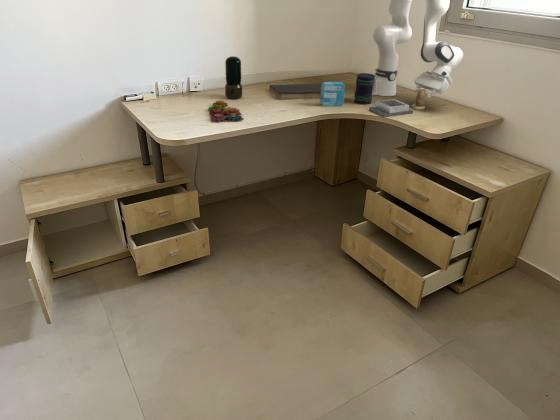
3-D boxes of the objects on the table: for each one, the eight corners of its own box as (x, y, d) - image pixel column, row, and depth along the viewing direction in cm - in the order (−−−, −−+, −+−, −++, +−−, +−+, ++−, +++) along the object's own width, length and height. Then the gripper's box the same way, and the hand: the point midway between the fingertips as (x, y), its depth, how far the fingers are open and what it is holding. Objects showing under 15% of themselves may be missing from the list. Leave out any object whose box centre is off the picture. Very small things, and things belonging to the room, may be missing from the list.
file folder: (280, 93, 237) (269, 83, 257) (280, 101, 239) (269, 90, 259) (335, 91, 245) (321, 82, 265) (335, 98, 247) (320, 88, 267)
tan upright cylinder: (409, 107, 236) (412, 88, 231) (418, 105, 239) (422, 87, 234) (417, 110, 230) (421, 92, 225) (427, 109, 233) (431, 90, 228)
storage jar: (374, 102, 241) (378, 75, 234) (364, 105, 235) (368, 78, 227) (360, 98, 247) (363, 72, 239) (350, 101, 241) (353, 74, 233)
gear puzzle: (206, 105, 227) (205, 97, 225) (236, 104, 231) (236, 96, 229) (211, 124, 201) (210, 115, 199) (245, 122, 204) (245, 114, 202)
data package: (321, 106, 231) (323, 83, 225) (319, 104, 235) (321, 81, 229) (343, 106, 233) (345, 83, 227) (340, 103, 237) (343, 81, 231)
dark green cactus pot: (223, 95, 242) (222, 55, 232) (240, 94, 245) (239, 54, 234) (227, 100, 235) (226, 58, 224) (244, 99, 237) (243, 58, 226)
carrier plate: (368, 109, 228) (370, 101, 226) (397, 106, 236) (398, 98, 233) (384, 117, 218) (385, 108, 216) (412, 113, 226) (414, 104, 223)
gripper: (423, 66, 236) (405, 86, 237) (450, 74, 220) (432, 95, 221) (427, 74, 240) (410, 93, 241) (455, 83, 224) (436, 103, 225)
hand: (421, 94), depth 231 cm, fingers open, 8 cm apart
